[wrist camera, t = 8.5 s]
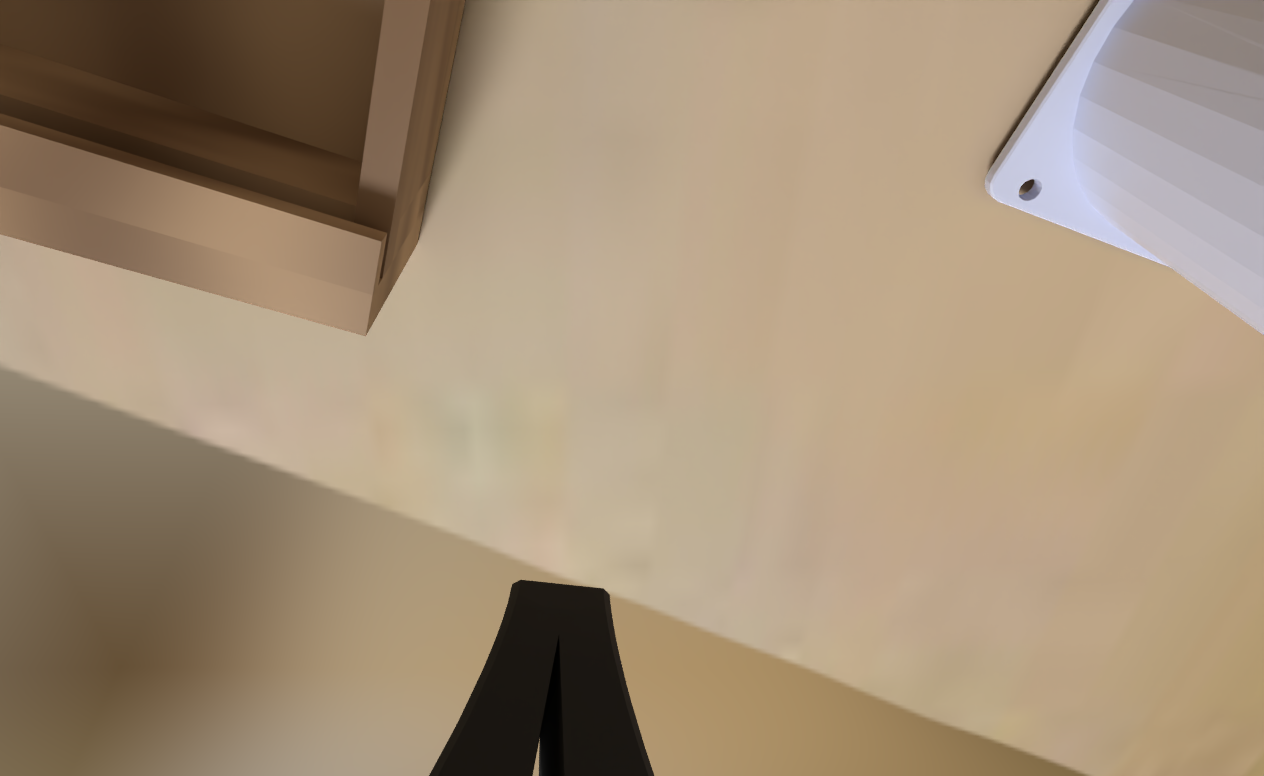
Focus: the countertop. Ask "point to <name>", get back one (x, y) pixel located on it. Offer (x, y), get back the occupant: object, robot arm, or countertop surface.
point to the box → (228, 141)
